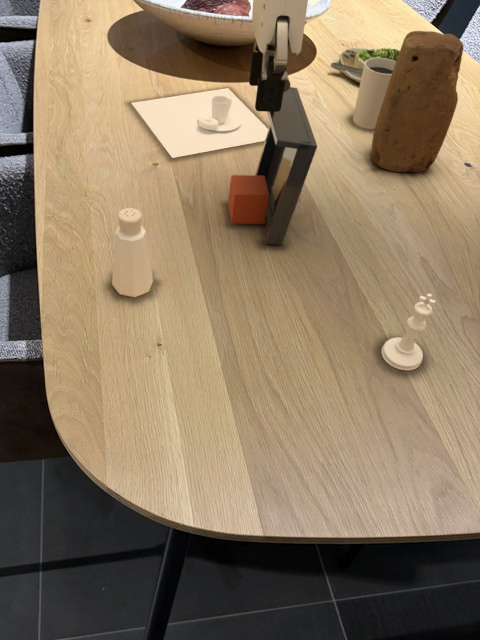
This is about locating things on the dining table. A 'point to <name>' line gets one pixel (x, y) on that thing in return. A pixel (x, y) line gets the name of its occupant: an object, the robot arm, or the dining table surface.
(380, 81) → the white cup
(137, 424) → the dining table surface
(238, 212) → the terracotta block
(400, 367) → the chess piece
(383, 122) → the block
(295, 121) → the tipping dish
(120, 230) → the pepper shaker
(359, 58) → the salad plate
